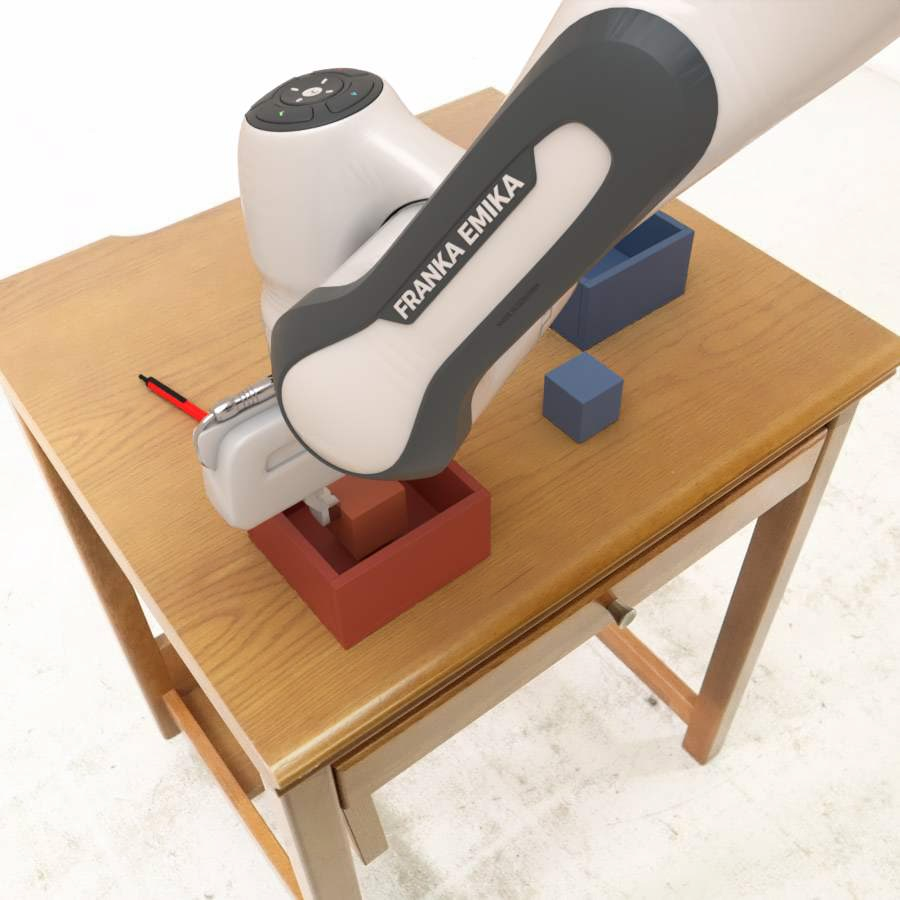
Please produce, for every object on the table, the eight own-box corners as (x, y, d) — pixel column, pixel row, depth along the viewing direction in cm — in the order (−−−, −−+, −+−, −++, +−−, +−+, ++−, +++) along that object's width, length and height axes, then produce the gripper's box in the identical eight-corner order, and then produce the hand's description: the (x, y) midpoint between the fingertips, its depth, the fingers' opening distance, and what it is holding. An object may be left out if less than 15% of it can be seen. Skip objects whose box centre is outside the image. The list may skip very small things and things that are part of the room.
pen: (145, 377, 90) (142, 367, 89) (305, 481, 81) (303, 471, 81) (137, 382, 90) (134, 372, 89) (296, 487, 81) (295, 477, 80)
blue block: (619, 419, 86) (624, 379, 82) (579, 444, 84) (582, 404, 80) (581, 390, 88) (585, 350, 85) (541, 414, 86) (544, 374, 83)
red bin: (490, 555, 76) (491, 492, 71) (345, 650, 71) (335, 589, 66) (387, 457, 83) (381, 394, 78) (248, 536, 78) (232, 474, 73)
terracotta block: (408, 529, 75) (405, 487, 72) (357, 561, 73) (351, 519, 70) (372, 493, 77) (367, 451, 74) (322, 523, 76) (314, 481, 72)
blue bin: (684, 293, 97) (695, 230, 92) (583, 351, 91) (588, 288, 86) (588, 232, 104) (593, 170, 99) (489, 282, 98) (489, 220, 93)
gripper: (215, 451, 57) (255, 603, 67) (506, 298, 65) (502, 453, 75) (160, 389, 60) (205, 542, 70) (443, 252, 69) (447, 406, 79)
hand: (361, 495), depth 73 cm, fingers closed on terracotta block, 4 cm apart
